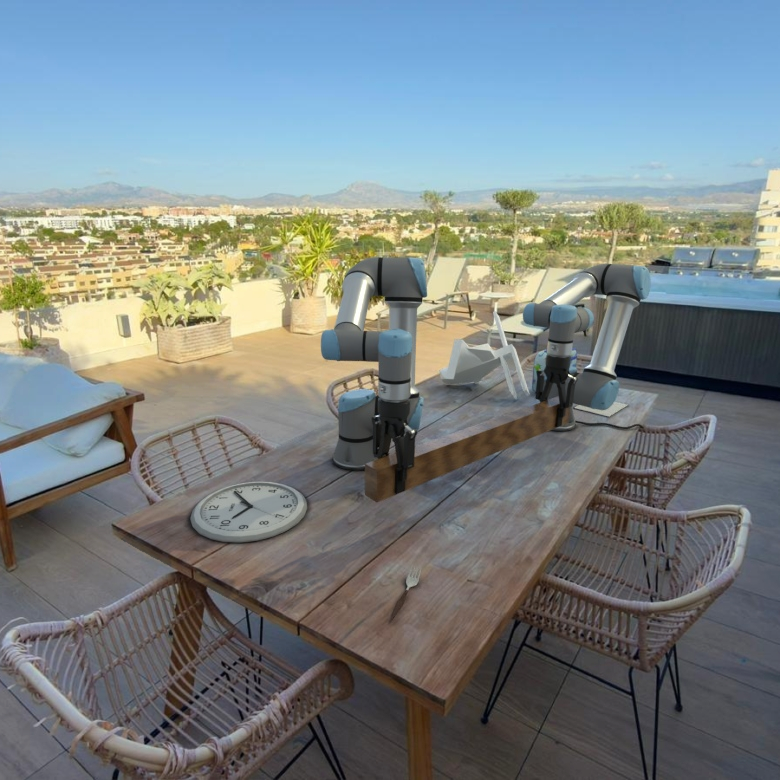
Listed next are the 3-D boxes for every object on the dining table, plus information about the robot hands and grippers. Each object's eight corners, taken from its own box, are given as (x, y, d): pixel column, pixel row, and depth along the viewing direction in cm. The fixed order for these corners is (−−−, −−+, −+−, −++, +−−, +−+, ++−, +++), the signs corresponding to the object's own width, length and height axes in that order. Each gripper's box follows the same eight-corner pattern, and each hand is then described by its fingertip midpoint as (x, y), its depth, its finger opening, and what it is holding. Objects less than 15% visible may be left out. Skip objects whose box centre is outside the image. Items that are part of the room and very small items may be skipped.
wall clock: (302, 534, 126) (174, 538, 123) (303, 540, 126) (175, 544, 124) (310, 477, 154) (206, 479, 152) (310, 482, 155) (206, 484, 152)
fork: (385, 619, 101) (385, 611, 101) (410, 571, 116) (411, 563, 115) (398, 623, 100) (398, 614, 100) (422, 574, 115) (422, 566, 114)
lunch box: (548, 399, 235) (554, 353, 228) (527, 393, 242) (532, 349, 236) (576, 387, 252) (581, 345, 246) (555, 383, 259) (560, 341, 253)
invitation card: (608, 416, 214) (573, 407, 224) (608, 416, 214) (573, 408, 224) (628, 404, 229) (594, 396, 238) (628, 405, 229) (594, 397, 238)
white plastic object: (461, 429, 252) (437, 405, 227) (444, 352, 274) (420, 323, 250) (535, 404, 240) (518, 377, 215) (510, 326, 262) (492, 293, 237)
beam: (556, 418, 178) (559, 395, 176) (568, 422, 175) (571, 399, 172) (364, 495, 126) (364, 463, 123) (376, 502, 122) (377, 470, 120)
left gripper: (357, 391, 125) (357, 479, 132) (409, 411, 112) (406, 507, 120) (380, 385, 130) (379, 470, 137) (433, 404, 117) (429, 496, 124)
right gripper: (527, 351, 169) (521, 418, 176) (579, 362, 156) (569, 434, 163) (540, 347, 173) (533, 413, 180) (591, 358, 161) (581, 428, 168)
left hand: (392, 487), depth 128 cm, fingers closed on beam, 5 cm apart
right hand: (551, 423), depth 172 cm, fingers closed on beam, 5 cm apart
